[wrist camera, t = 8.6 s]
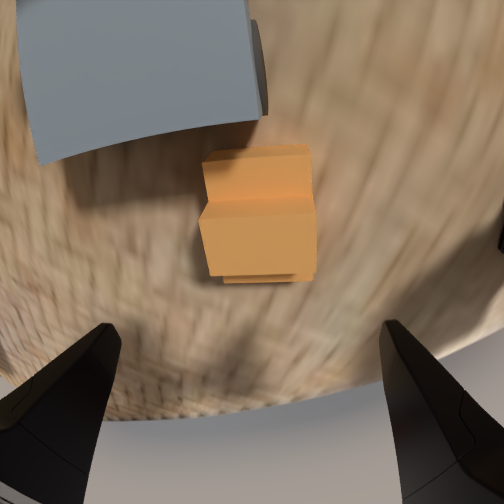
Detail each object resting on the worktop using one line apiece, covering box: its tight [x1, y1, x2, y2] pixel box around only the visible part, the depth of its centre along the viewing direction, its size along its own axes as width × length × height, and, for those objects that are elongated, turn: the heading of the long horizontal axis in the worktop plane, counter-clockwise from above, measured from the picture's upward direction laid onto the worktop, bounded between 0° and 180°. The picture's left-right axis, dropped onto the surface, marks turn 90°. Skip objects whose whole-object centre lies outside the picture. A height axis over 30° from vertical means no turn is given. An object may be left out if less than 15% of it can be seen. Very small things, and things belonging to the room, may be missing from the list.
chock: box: [198, 144, 317, 283], centre depth 15 cm, size 7×5×4 cm
